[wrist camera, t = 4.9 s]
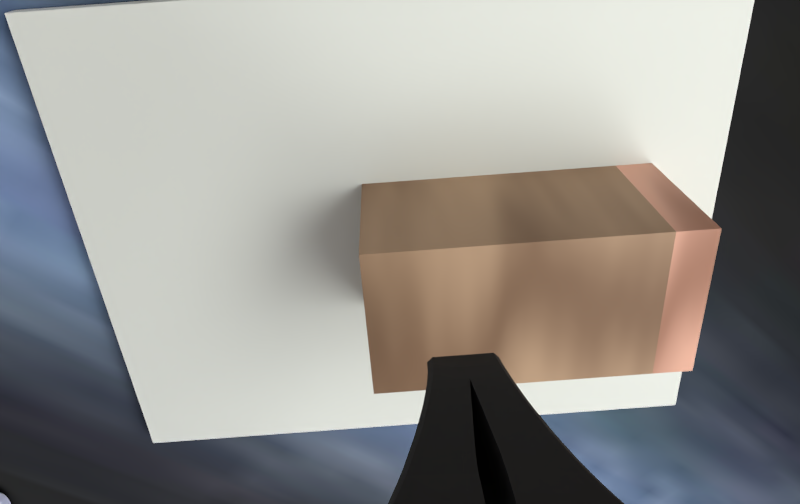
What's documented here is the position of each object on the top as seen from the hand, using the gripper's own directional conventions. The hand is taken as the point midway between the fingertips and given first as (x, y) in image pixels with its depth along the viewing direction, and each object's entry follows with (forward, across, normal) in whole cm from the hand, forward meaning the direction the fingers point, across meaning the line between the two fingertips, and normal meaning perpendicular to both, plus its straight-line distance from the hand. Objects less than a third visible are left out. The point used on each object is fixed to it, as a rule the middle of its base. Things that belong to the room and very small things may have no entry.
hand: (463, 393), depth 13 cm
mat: (+7, +1, 0) cm, 7 cm away
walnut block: (+4, +2, 0) cm, 5 cm away
